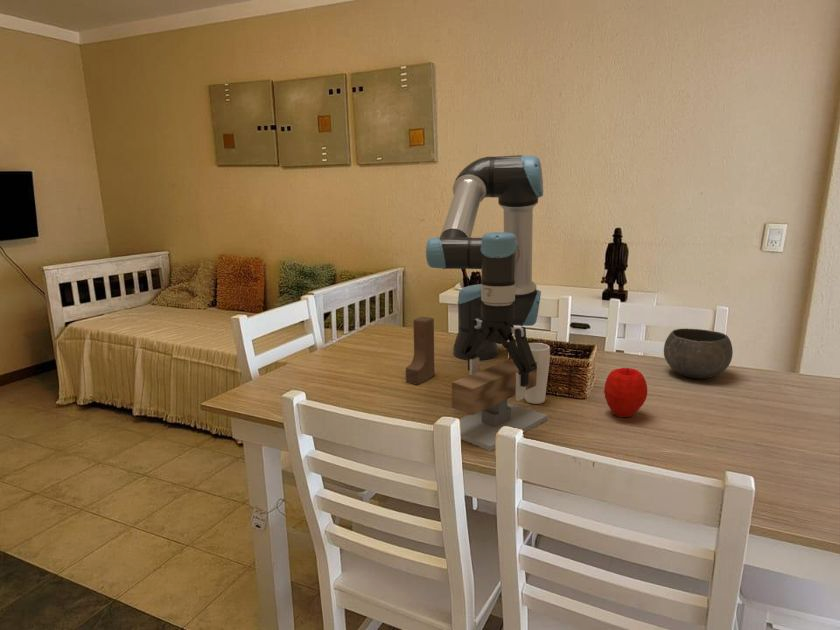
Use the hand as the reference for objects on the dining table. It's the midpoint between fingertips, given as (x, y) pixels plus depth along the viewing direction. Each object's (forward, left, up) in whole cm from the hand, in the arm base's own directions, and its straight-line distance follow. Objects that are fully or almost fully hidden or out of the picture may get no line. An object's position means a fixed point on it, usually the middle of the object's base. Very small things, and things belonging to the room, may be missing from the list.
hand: (496, 391), depth 127 cm
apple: (-26, +19, -9) cm, 33 cm away
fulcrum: (0, 0, -9) cm, 9 cm away
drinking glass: (-19, -2, -9) cm, 21 cm away
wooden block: (-10, -36, -9) cm, 38 cm away
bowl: (-67, +21, -9) cm, 71 cm away
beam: (0, 0, -1) cm, 1 cm away
